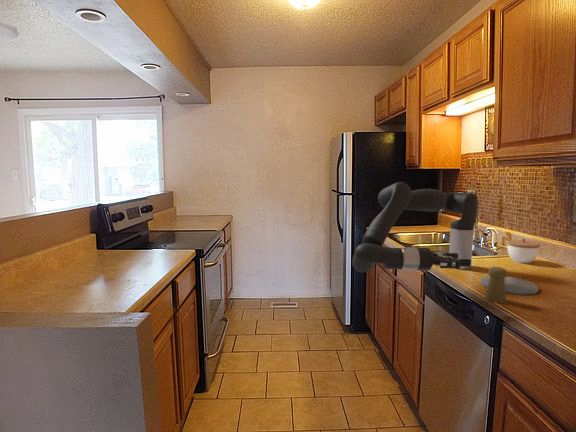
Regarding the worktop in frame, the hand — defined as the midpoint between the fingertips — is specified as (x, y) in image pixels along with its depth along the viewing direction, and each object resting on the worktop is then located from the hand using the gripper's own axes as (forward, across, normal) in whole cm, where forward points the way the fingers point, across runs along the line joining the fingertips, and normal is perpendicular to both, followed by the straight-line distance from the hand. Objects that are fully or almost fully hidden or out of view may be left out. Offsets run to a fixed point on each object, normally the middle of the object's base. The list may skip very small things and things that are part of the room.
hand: (463, 259), depth 113 cm
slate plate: (+25, +14, +13) cm, 31 cm away
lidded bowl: (+54, +50, +13) cm, 75 cm away
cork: (+12, 0, +14) cm, 18 cm away
